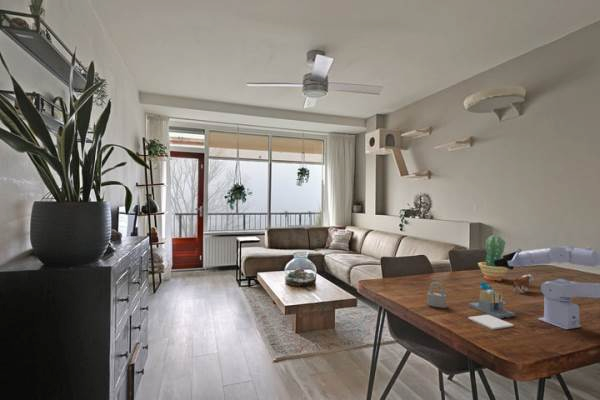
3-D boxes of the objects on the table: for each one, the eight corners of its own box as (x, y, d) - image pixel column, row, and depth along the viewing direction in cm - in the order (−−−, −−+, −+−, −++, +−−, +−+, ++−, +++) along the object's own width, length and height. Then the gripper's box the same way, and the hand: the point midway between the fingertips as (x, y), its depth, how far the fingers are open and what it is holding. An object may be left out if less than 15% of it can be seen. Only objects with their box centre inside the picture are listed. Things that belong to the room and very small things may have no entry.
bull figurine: (536, 291, 153) (536, 274, 153) (518, 293, 148) (518, 276, 148) (526, 288, 157) (527, 272, 157) (509, 291, 152) (509, 274, 152)
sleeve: (502, 302, 122) (502, 293, 122) (491, 303, 120) (491, 294, 120) (489, 297, 127) (489, 289, 127) (479, 299, 125) (479, 290, 125)
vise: (521, 315, 119) (521, 294, 119) (499, 318, 115) (499, 296, 115) (489, 303, 132) (489, 284, 132) (468, 306, 129) (468, 286, 129)
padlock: (445, 305, 129) (446, 282, 129) (445, 308, 125) (446, 284, 125) (427, 303, 132) (428, 280, 132) (427, 305, 128) (427, 282, 128)
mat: (513, 326, 108) (513, 324, 108) (492, 329, 105) (492, 327, 105) (488, 316, 118) (488, 314, 118) (468, 318, 115) (468, 317, 115)
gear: (495, 301, 131) (479, 280, 137) (484, 308, 134) (468, 288, 140) (505, 299, 138) (489, 280, 144) (494, 306, 141) (478, 287, 147)
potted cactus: (513, 283, 168) (514, 237, 168) (482, 280, 171) (483, 236, 171) (502, 276, 183) (502, 234, 183) (473, 274, 186) (474, 233, 186)
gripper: (538, 242, 123) (504, 247, 135) (520, 252, 116) (486, 256, 128) (545, 259, 122) (510, 262, 134) (528, 270, 115) (493, 272, 127)
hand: (499, 260), depth 131 cm, fingers open, 7 cm apart
